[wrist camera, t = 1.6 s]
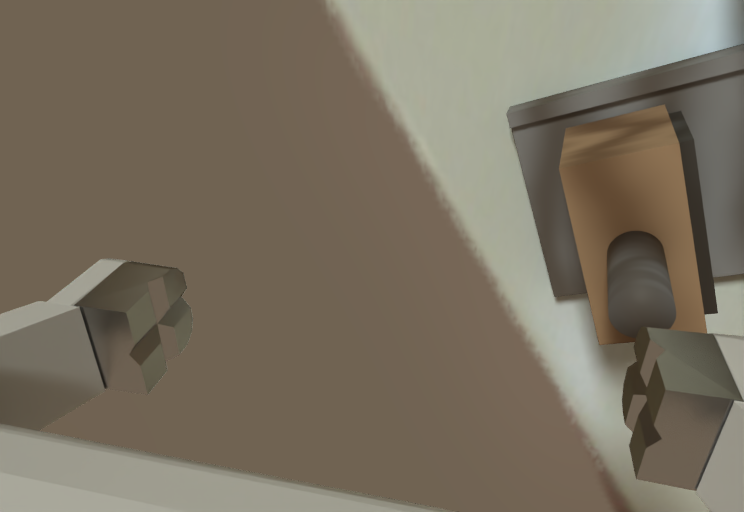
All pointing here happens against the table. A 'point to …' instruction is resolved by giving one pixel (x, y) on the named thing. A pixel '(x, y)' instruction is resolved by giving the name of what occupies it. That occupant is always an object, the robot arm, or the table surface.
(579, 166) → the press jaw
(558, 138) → the frame
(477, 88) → the table surface
